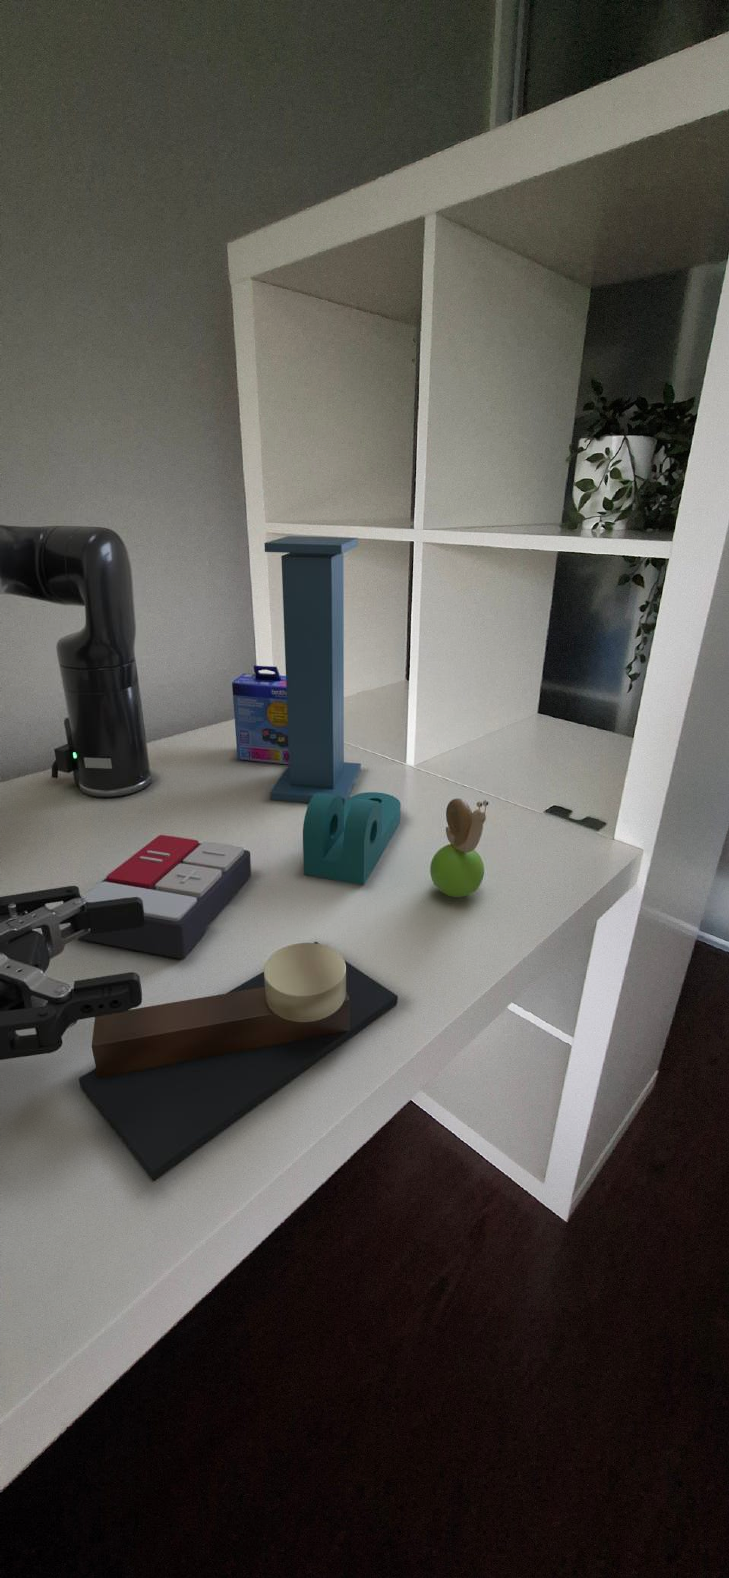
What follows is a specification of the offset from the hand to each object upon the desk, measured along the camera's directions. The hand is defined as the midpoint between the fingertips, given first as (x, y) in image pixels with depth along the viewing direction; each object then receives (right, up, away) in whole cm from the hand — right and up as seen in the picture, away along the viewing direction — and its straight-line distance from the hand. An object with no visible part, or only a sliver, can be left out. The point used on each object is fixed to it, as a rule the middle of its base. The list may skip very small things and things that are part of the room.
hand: (142, 946), depth 46 cm
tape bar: (+5, -8, +5) cm, 11 cm away
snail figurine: (+24, 0, +24) cm, 35 cm away
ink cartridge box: (+1, +15, +58) cm, 60 cm away
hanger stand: (+8, +11, +49) cm, 51 cm away
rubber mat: (+6, -8, +6) cm, 12 cm away
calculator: (-4, -1, +22) cm, 23 cm away
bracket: (+14, +4, +35) cm, 38 cm away
